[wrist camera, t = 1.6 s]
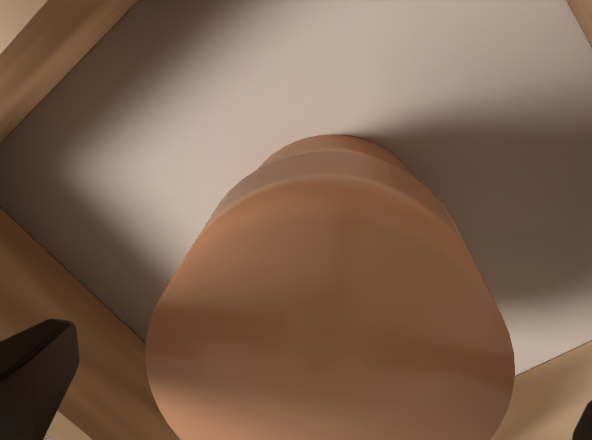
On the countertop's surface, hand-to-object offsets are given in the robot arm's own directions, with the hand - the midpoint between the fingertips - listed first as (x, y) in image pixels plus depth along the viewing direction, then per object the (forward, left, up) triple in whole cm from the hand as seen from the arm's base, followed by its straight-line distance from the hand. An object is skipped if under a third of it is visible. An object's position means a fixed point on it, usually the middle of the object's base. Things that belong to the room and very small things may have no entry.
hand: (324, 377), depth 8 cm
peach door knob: (0, 0, -6) cm, 7 cm away
